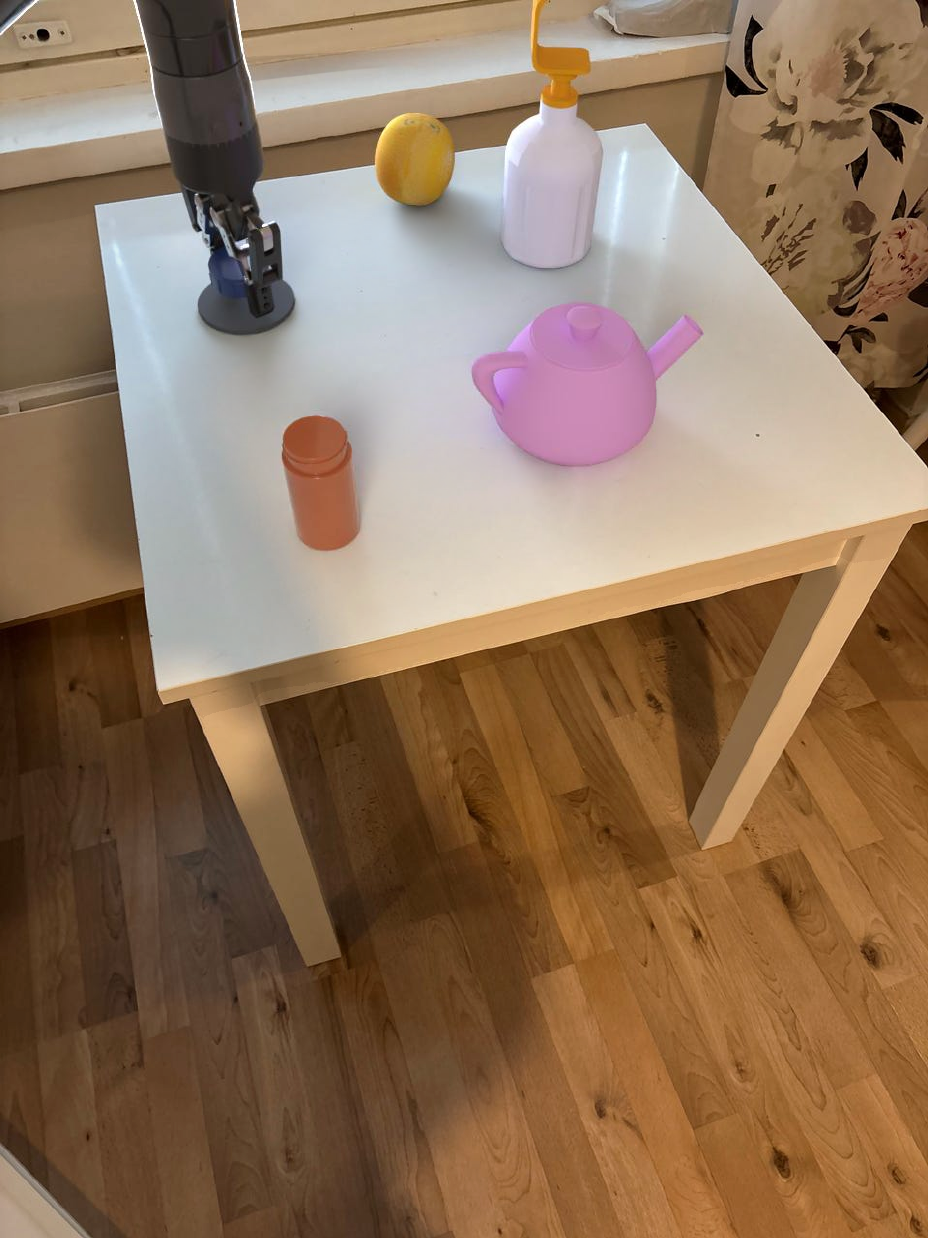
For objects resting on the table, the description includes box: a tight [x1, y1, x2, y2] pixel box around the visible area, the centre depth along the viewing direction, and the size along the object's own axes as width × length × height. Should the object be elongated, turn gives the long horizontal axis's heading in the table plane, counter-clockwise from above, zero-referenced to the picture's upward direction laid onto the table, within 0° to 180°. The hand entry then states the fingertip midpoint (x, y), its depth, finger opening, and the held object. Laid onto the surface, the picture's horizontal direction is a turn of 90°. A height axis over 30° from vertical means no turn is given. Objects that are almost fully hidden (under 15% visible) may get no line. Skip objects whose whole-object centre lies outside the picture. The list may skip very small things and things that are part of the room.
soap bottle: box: [500, 0, 604, 269], centre depth 86 cm, size 9×9×25 cm
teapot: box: [470, 302, 705, 467], centre depth 77 cm, size 14×20×11 cm
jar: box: [281, 414, 361, 552], centre depth 70 cm, size 5×5×10 cm
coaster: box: [197, 278, 296, 336], centre depth 90 cm, size 9×9×1 cm
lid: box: [207, 242, 251, 298], centre depth 87 cm, size 6×6×2 cm
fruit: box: [374, 112, 456, 207], centre depth 97 cm, size 9×8×8 cm
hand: (245, 295), depth 89 cm, fingers closed on lid, 5 cm apart
